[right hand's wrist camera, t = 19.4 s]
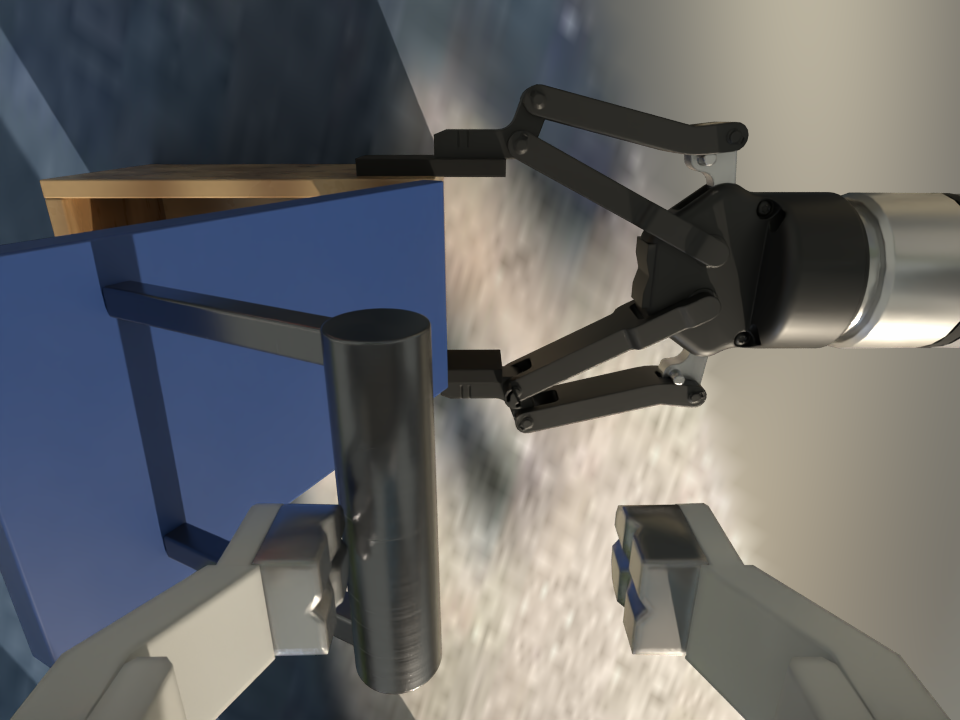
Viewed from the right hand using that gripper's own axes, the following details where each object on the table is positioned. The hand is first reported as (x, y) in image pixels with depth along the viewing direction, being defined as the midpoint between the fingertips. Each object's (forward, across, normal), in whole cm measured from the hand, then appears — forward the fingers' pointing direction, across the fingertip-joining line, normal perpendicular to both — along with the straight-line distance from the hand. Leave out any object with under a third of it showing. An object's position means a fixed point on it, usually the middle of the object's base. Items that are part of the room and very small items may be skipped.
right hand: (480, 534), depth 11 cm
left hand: (+20, -5, 0) cm, 21 cm away
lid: (+9, -6, 0) cm, 11 cm away
